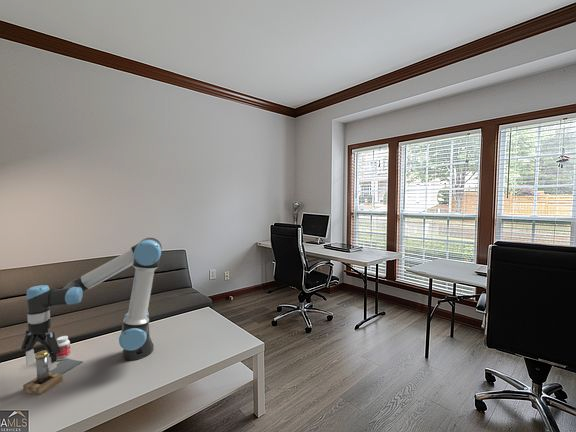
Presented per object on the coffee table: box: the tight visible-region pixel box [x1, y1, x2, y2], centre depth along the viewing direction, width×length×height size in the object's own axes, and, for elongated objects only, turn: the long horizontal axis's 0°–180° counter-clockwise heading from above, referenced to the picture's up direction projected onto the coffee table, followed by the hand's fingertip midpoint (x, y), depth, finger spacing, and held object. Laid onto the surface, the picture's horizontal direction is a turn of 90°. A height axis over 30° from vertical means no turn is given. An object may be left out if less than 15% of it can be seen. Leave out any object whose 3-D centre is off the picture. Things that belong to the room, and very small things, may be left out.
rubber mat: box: [49, 358, 83, 376], centre depth 139 cm, size 11×11×1 cm
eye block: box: [22, 372, 64, 396], centre depth 124 cm, size 10×10×3 cm
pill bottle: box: [56, 335, 72, 362], centre depth 147 cm, size 6×6×11 cm
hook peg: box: [34, 349, 50, 385], centre depth 124 cm, size 5×5×16 cm
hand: (41, 366), depth 124 cm, fingers open, 13 cm apart
